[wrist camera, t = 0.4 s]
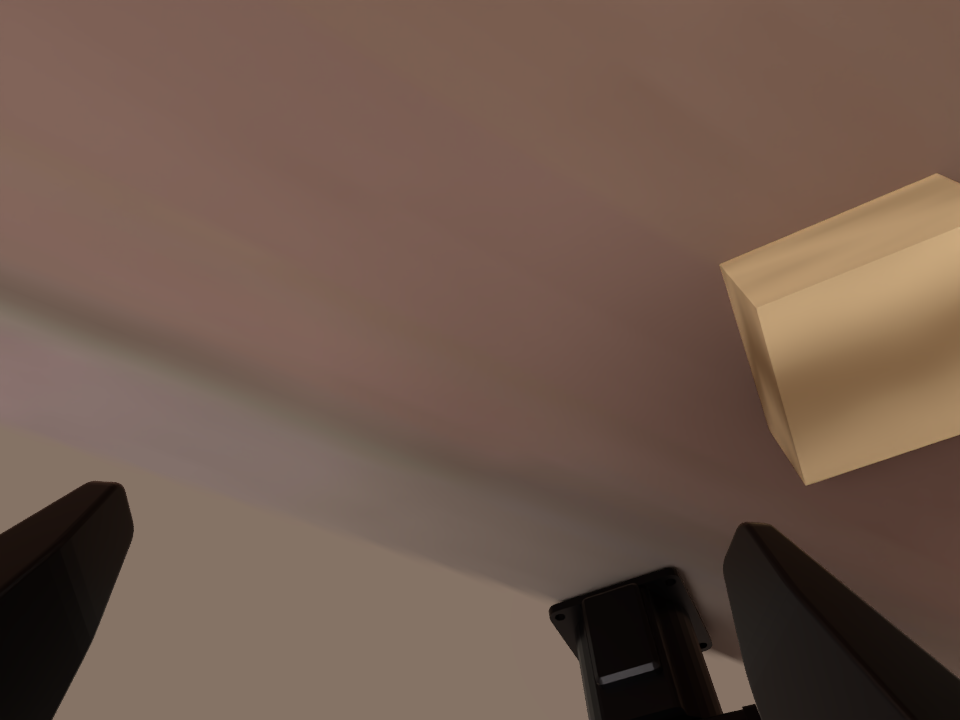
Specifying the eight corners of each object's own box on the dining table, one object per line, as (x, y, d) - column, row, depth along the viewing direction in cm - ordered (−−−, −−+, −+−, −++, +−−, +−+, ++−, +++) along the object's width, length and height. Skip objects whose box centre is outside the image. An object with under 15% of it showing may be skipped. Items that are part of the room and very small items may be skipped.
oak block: (949, 359, 24) (1017, 415, 21) (766, 425, 26) (805, 485, 23) (930, 170, 20) (1010, 206, 17) (716, 261, 22) (756, 307, 19)
